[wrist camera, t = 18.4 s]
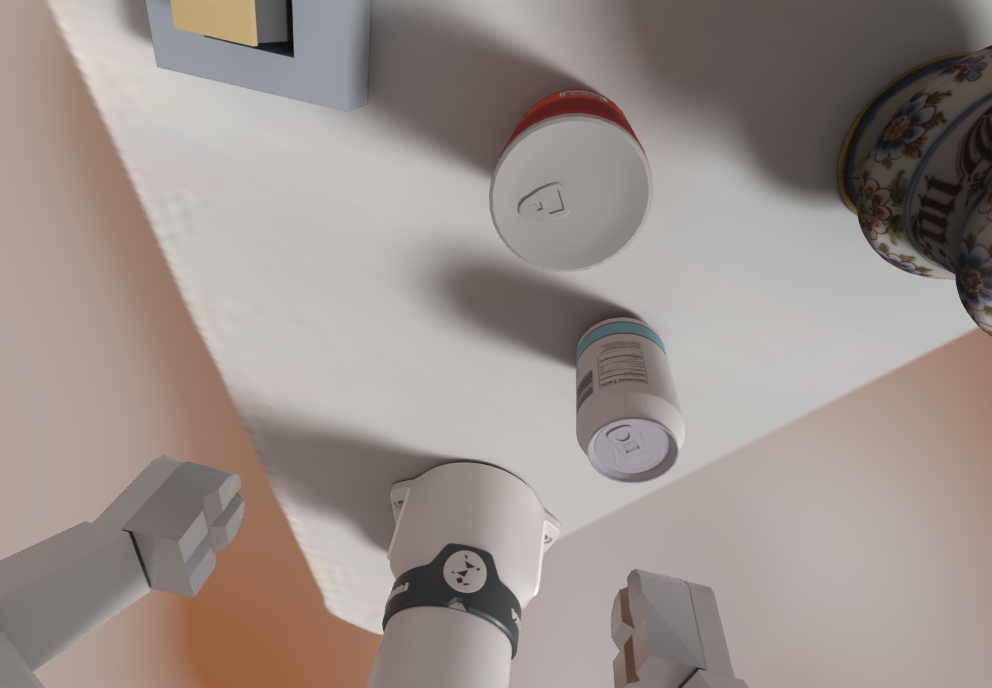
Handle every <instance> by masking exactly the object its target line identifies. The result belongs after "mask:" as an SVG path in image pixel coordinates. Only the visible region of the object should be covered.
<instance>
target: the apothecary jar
mask: <svg viewBox="0 0 992 688" xmlns="http://www.w3.org/2000/svg"><path fill="white" fill-rule="evenodd" d="M838 185H839V190H840V193H841V195H842V197H843V199H844V201H845V203H846V204H847V206H848V207H849V208H850V209H851V210H852V211H853V212H854V213H855V214H856V215H858V219H859V223H860V227H861V229H862V232H863V234H864V236H865V237H866V239H867V241H868V242H869V244H870V245H871V247H872V248H873V249H874V250H875V251H876V252H877V253H878V254H879V255H880V256H881V257H882V258H883V259H884V260H886V261H887V262H889V263H890V264H892V265H894V266H895V267H897V268H899V269H901V270H903V271H906V272H909V273H912V274H915V275H919V276H923V277H928V278H935V279H950V280H956V286H957V290H958V294H959V297H960V299H961V302H962V304H963V306H964V308H965V309H966V311H967V313H968V314H969V315H970V317H971V318H972V319H973V320H974V321H975V322H976V324H977V325H978V326H979V327H981V329H982V330H983V331H985V332H986V333H988V334H989V335H990V336H992V45H991V46H989V47H986V48H984V49H982V50H980V51H977V52H975V53H973V54H957V55H951V56H946V57H942V58H938V59H934V60H932V61H929V62H927V63H925V64H922V65H920V66H918V67H916V68H914V69H912V70H910V71H908V72H906V73H905V74H903V75H901V76H900V77H898V78H897V79H895V80H894V81H893V82H891V83H890V84H889V85H888V86H887V87H885V88H884V89H883V90H882V91H881V92H880V93H879V94H877V95H876V96H875V97H874V98H873V99H872V100H871V101H870V103H869V104H868V105H867V106H866V107H865V108H864V109H863V111H862V112H861V113H860V115H859V116H858V117H857V119H856V120H855V122H854V123H853V125H852V127H851V128H850V130H849V132H848V134H847V136H846V139H845V141H844V144H843V146H842V149H841V152H840V156H839V161H838Z"/></svg>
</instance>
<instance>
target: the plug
mask: <svg viewBox="0 0 992 688" xmlns="http://www.w3.org/2000/svg"><path fill="white" fill-rule="evenodd" d="M170 1H171V7H172V14H173V21H174V28H177V29H181V30H185V31H189V32H194V33H198V34H202V35H207V36H211V37H215V38H219V39H224V40H228V41H232V42H236V43H241V44H245V45H249V46H258V43H267V42H281V41H294V38H293V9H292V0H170Z"/></svg>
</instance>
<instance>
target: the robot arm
mask: <svg viewBox="0 0 992 688" xmlns="http://www.w3.org/2000/svg"><path fill="white" fill-rule="evenodd" d="M240 487H241V480H240V476H239V475H238V474H235V473H230V472H227V471H223V470H219V469H214V468H211V467H207V466H203V465H199V464H195V463H191V462H189V461H184V460H180V459H176V458H172V457H167V456H161V457H160V458H158V459H156V460H154V461H153V462H151V464H150V465H149V466H148V467H147V468H146V469H145V470H144V471H143V472H142V473H141V474H140V475H139V476H138V477H137V478H136V479H135V480H134V481H133V482H132V483H131V484H130V485H129V486H128V487H127V488H126V489H125V490H124V491H123V492H122V493H121V494H120V495H119V496H118V498H117V499H116V500H115V501H114V502H113V503H112V504H111V505H110V506H109V507H108V508H107V509H106V510H105V511H104V512H103V513H102V514H101V515H100V516H99V517H98V518H97V519H96V520H95V521H94V522H93V523H90V522H83V523H81V524H79V525H76V526H74V527H72V528H70V529H68V530H66V531H63V532H61V533H59V534H57V535H55V536H53V537H50V538H48V539H46V540H44V541H42V542H39V543H37V544H35V545H33V546H31V547H29V548H26V549H24V550H22V551H20V552H18V553H16V554H14V555H11V556H9V557H7V558H5V559H3V560H0V688H45V687H44V686H43V685H42V683H41V682H40V681H39V680H38V678H37V677H36V675H35V674H34V673H33V671H35V670H36V669H38V668H39V667H40V666H42V665H43V664H45V663H46V662H48V661H49V660H50V659H52V658H54V657H55V656H56V655H58V654H59V653H61V652H62V651H64V650H65V649H67V648H68V647H69V646H71V645H72V644H74V643H75V642H77V641H78V640H80V639H81V638H83V637H84V636H86V635H87V634H89V633H90V632H91V631H93V630H94V629H96V628H97V627H99V626H100V625H102V624H103V623H105V622H106V621H107V620H109V619H110V618H112V617H113V616H115V615H116V614H118V613H119V612H121V611H122V610H124V609H125V608H126V607H128V606H129V605H131V604H132V603H134V602H135V601H137V600H138V599H139V598H141V597H143V596H144V595H145V594H147V593H148V592H150V588H151V589H156V590H161V591H166V592H170V593H175V594H180V595H185V596H190V597H195V596H196V594H197V593H198V591H199V590H200V588H201V586H202V585H203V584H204V582H205V581H206V579H207V578H208V576H209V575H210V573H211V572H212V570H213V569H214V567H215V553H217V552H218V551H220V550H222V549H224V548H225V547H227V546H229V544H230V543H231V541H232V540H233V538H234V537H235V535H236V533H237V532H238V529H239V527H240V524H241V522H242V519H243V516H244V508H245V506H244V499H243V498H242V497H241V496H240V495H239V494H238V493H237V491H238V490H239V488H240ZM390 499H391V504H392V510H393V515H394V521H395V526H396V528H395V531H394V534H393V537H392V541H391V544H390V547H389V551H388V555H387V558H388V559H389V560H390V567H391V570H392V573H393V575H394V577H395V580H396V581H395V583H394V585H393V588H392V591H391V594H390V595H389V597H388V600H387V603H386V607H385V608H386V609H385V615H384V618H383V622H382V625H383V631H384V634H383V637H382V641H381V644H380V647H379V650H378V653H377V657H376V660H375V663H374V666H373V669H372V673H371V676H370V679H369V682H368V685H367V688H509V677H510V666H511V660H512V659H513V658H514V657H515V655H516V652H517V645H518V641H519V637H520V632H521V624H520V620H521V610H522V609H525V607H526V605H527V603H528V602H529V601H530V600H531V599H533V597H534V595H536V594H537V593H538V589H539V583H540V575H541V565H542V557H543V554H544V553H545V552H546V550H547V549H548V548H549V547H550V545H551V544H552V543H553V542H554V541H555V540H556V538H557V537H558V536H559V532H560V524H559V522H558V521H557V520H556V519H555V518H554V517H552V516H551V515H550V514H548V513H547V512H546V511H545V510H544V509H543V508H542V506H541V504H540V502H539V500H538V499H537V497H536V495H535V494H534V492H533V491H532V490H531V489H530V488H529V487H528V486H527V485H526V484H525V483H524V482H522V481H521V480H520V479H518V478H517V477H515V476H513V475H512V474H510V473H508V472H506V471H503V470H501V469H498V468H495V467H492V466H488V465H484V464H478V463H468V462H460V463H450V464H445V465H441V466H438V467H435V468H433V469H431V470H429V471H427V472H426V473H424V474H423V475H421V476H420V477H418V478H416V479H413V480H407V481H402V482H398V483H396V484H394V485H393V486H392V489H391V493H390ZM627 582H628V583H627V584H628V587H626V588H623V589H621V590H619V592H618V594H617V596H616V598H615V600H614V604H613V608H612V613H611V637H612V639H613V640H614V642H615V644H616V646H617V647H618V649H619V650H620V652H619V653H618V655H617V656H616V658H615V659H614V661H613V670H614V685H615V688H749V687H748V686H747V684H746V683H745V682H744V680H742V679H738V678H736V677H735V673H734V669H733V665H732V661H731V658H730V654H729V650H728V646H727V642H726V638H725V634H724V630H723V626H722V622H721V618H720V614H719V610H718V606H717V602H716V598H715V594H714V592H713V591H712V589H711V588H710V587H708V586H706V585H702V584H697V583H693V582H688V581H684V580H682V579H679V578H674V577H669V576H665V575H661V574H656V573H652V572H647V571H642V570H638V569H635V570H632V571H631V572H630V574H629V576H628V577H627Z"/></svg>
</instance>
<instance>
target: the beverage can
mask: <svg viewBox="0 0 992 688" xmlns="http://www.w3.org/2000/svg"><path fill="white" fill-rule="evenodd" d="M576 433H577V439H578V442H579V445H580V447H581V448H582V450H583V451H584V453H585V454H586V455H587V456H588V458H589V461H590V463H591V465H592V466H593V467H594V469H595V470H596V471H597V472H599V473H600V474H601V475H603V476H605V477H607V478H609V479H611V480H614V481H618V482H623V483H643V482H648V481H651V480H654V479H657V478H659V477H661V476H663V475H664V474H666V473H667V472H668V471H669V470H670V469H671V468H672V467H673V466H674V465H675V463H676V461H677V459H678V455H679V449H680V448H681V446H682V444H683V441H684V438H685V423H684V419H683V415H682V412H681V408H680V404H679V401H678V397H677V393H676V389H675V386H674V382H673V378H672V375H671V371H670V367H669V364H668V360H667V356H666V352H665V349H664V345H663V342H662V339H661V337H660V336H659V334H658V333H657V332H656V331H655V330H654V329H653V328H652V327H651V326H649V325H648V324H646V323H644V322H642V321H640V320H636V319H632V318H612V319H608V320H604V321H602V322H599V323H597V324H596V325H594V326H593V327H591V328H590V329H589V330H588V331H587V332H586V333H585V334H584V335H583V336H582V338H581V339H580V341H579V344H578V346H577V351H576Z"/></svg>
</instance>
